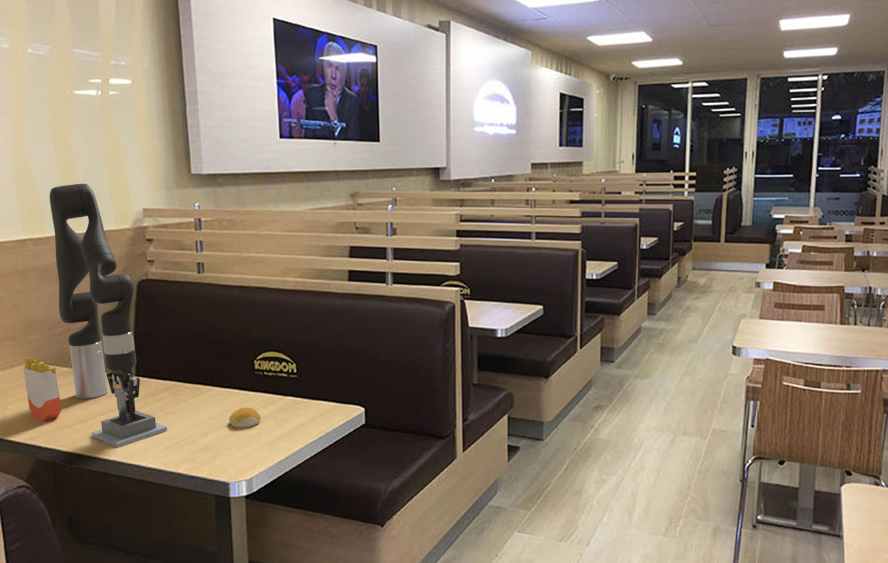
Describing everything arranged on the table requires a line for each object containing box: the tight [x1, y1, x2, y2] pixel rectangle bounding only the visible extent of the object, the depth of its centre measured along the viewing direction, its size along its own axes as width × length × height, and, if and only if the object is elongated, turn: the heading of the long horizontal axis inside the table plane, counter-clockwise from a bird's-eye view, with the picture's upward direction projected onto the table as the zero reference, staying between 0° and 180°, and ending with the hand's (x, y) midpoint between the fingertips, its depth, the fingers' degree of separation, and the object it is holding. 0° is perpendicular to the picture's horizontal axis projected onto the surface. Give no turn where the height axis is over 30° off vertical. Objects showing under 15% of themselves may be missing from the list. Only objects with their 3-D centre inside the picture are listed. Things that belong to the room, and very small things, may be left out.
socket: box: [91, 410, 168, 448], centre depth 195 cm, size 14×14×4 cm
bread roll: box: [228, 407, 261, 429], centre depth 200 cm, size 8×9×4 cm
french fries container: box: [23, 356, 62, 422], centre depth 211 cm, size 5×11×18 cm, turn 54°
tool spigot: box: [115, 384, 136, 422], centre depth 194 cm, size 4×4×10 cm
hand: (126, 410), depth 195 cm, fingers closed on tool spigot, 4 cm apart
